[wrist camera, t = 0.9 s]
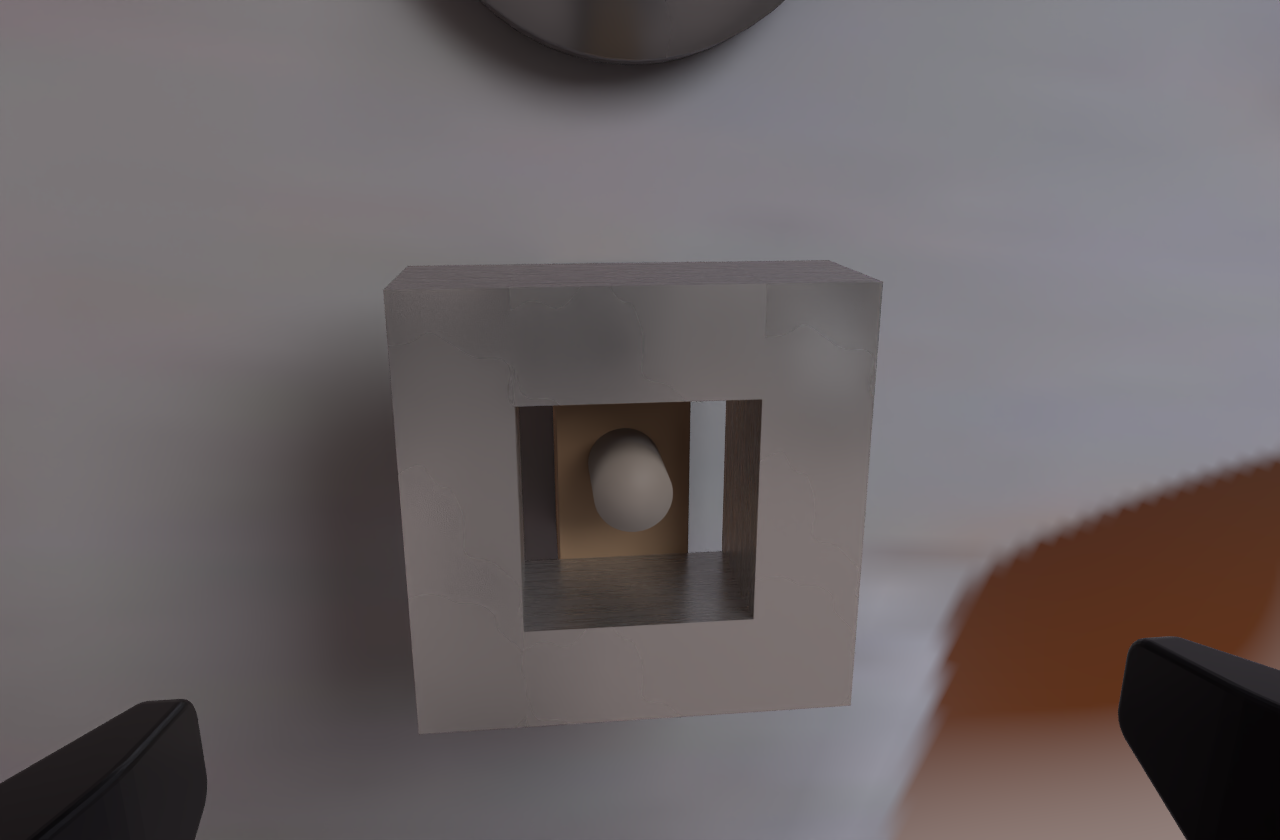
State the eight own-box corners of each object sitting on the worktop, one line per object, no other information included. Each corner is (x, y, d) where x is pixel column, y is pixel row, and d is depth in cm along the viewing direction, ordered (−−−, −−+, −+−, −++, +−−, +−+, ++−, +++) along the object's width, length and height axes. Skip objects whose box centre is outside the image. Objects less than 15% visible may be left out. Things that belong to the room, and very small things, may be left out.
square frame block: (806, 628, 17) (851, 705, 14) (435, 649, 16) (418, 734, 14) (828, 260, 15) (882, 281, 12) (407, 265, 14) (382, 289, 12)
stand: (657, 521, 20) (701, 655, 15) (556, 525, 20) (564, 662, 15) (659, 262, 18) (709, 309, 13) (549, 263, 18) (555, 312, 13)
